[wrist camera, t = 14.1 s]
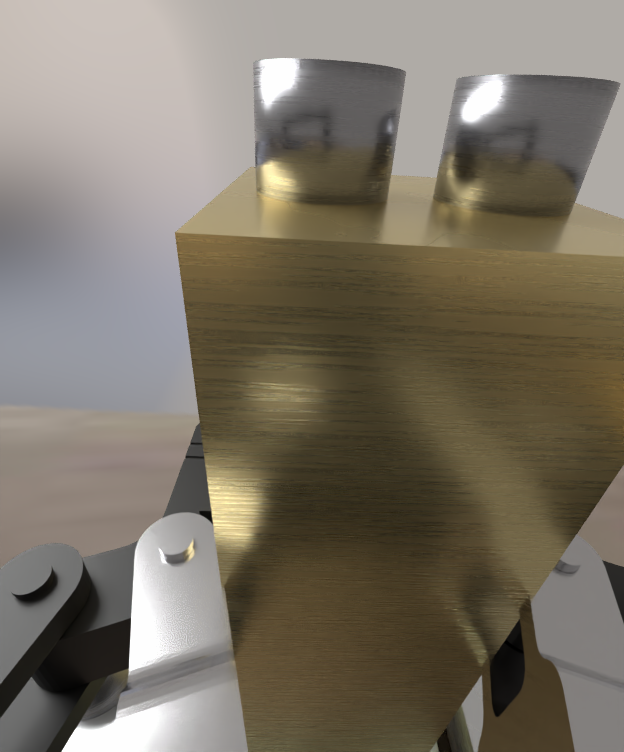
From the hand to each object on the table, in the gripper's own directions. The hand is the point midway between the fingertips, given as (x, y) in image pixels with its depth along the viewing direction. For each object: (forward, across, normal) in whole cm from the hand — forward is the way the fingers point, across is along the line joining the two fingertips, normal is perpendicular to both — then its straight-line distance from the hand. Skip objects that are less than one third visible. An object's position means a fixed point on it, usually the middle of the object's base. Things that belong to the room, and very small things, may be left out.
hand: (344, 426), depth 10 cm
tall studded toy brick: (-3, 0, +8) cm, 8 cm away
